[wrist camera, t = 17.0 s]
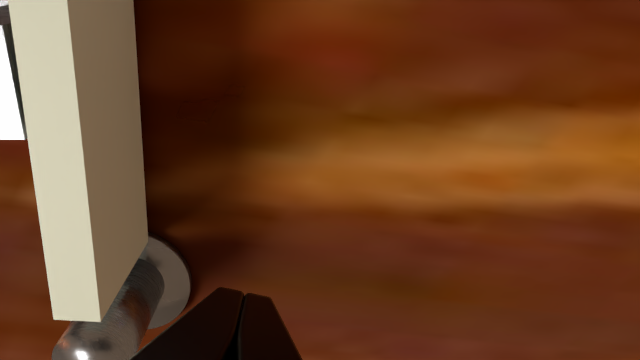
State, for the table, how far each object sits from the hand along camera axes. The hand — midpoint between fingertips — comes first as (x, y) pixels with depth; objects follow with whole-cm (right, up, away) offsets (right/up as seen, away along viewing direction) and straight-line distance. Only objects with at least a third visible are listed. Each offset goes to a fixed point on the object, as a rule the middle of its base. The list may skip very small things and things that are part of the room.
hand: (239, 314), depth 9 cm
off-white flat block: (-6, +5, +11) cm, 13 cm away
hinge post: (-6, -2, +14) cm, 15 cm away
